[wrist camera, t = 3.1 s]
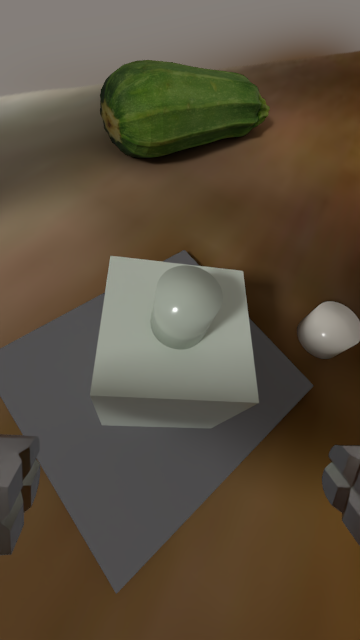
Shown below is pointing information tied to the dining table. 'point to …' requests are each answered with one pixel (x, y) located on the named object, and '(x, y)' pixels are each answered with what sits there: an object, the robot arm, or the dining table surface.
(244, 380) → the square capped bottle
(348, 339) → the glossy white pebble
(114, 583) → the mat
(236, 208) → the dining table surface
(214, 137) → the vegetable
